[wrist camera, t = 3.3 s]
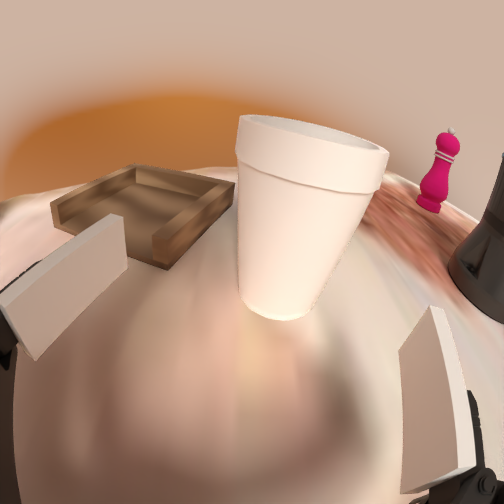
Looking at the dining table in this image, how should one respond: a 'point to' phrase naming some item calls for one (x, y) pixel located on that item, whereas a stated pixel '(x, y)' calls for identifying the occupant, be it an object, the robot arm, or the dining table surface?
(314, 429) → the dining table surface
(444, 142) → the pepper mill
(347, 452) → the dining table surface
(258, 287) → the foam cup
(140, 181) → the end holder
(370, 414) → the dining table surface
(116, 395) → the dining table surface
